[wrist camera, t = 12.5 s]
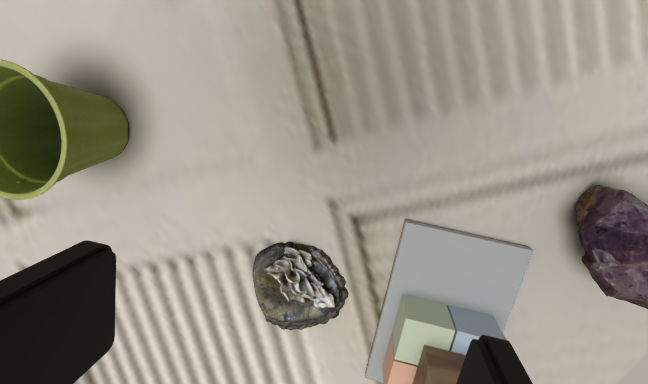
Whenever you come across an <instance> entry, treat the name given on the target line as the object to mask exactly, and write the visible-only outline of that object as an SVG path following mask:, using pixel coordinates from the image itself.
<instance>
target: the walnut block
mask: <svg viewBox="0 0 648 384" xmlns="http://www.w3.org/2000/svg"><path fill="white" fill-rule="evenodd" d="M465 356H466V355H463V354H459V353H455V352H451V351H447V350H443V349H439V348H435V347H431V346H427V345H424V347H423V350H422V353H421V357H420V360H419V364H418V367H417V370H416V374H415V377H414V380H413V384H456V383H457V380H458V377H459V374H460V371H461V368H462V365H463V362H464V359H465Z"/></svg>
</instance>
